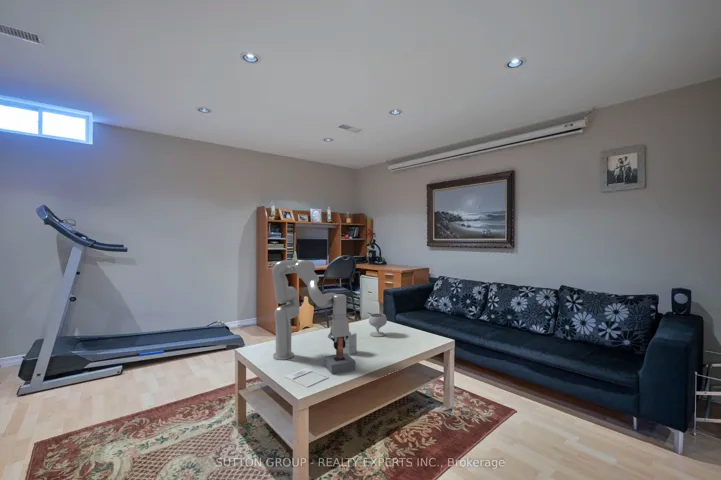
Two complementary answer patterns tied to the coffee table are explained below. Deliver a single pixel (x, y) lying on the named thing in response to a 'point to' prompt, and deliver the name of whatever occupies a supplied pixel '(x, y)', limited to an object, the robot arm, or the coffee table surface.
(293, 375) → the photo frame
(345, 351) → the supplement box
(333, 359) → the socket block
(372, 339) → the coffee table surface
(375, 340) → the coffee table surface
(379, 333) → the chalice
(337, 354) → the peg
